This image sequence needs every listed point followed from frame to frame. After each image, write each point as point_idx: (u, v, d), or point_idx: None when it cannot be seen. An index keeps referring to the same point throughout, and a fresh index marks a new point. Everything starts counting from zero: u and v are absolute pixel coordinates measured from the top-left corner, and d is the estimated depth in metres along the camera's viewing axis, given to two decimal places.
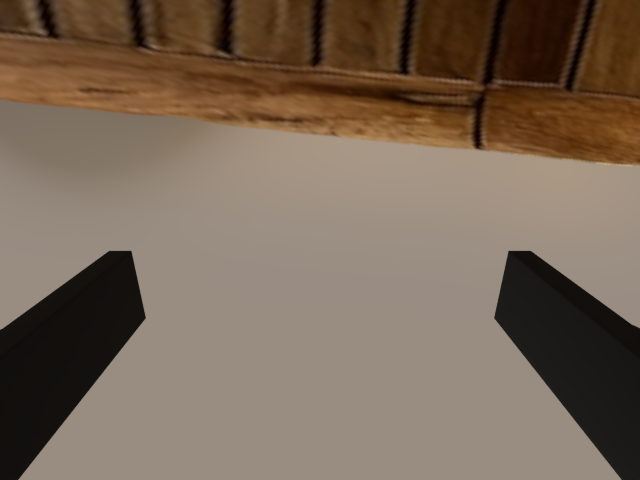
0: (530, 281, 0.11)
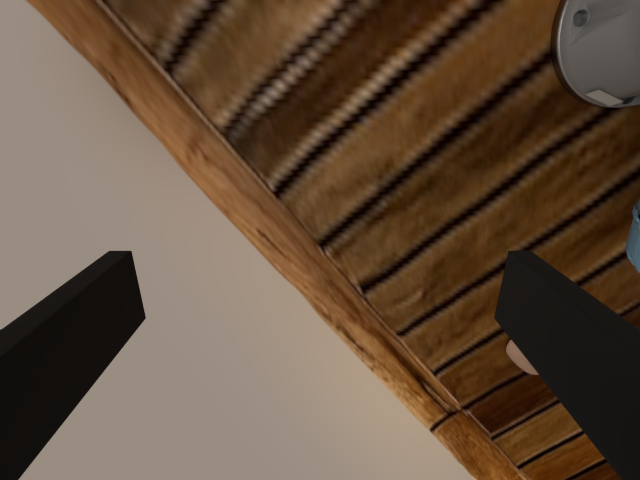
0: (530, 281, 0.11)
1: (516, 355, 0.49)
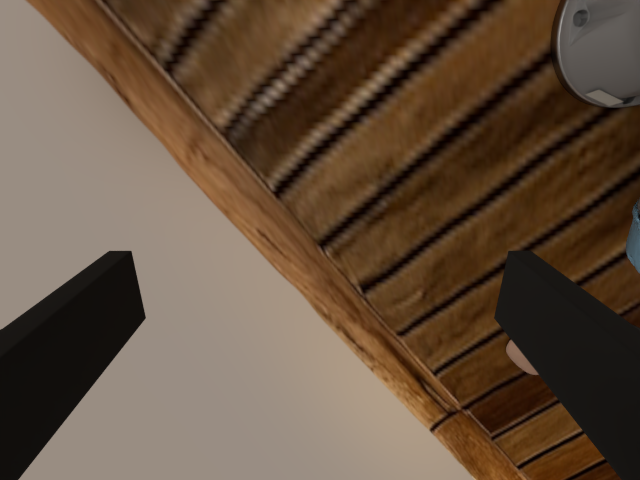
0: (530, 281, 0.11)
1: (516, 355, 0.49)
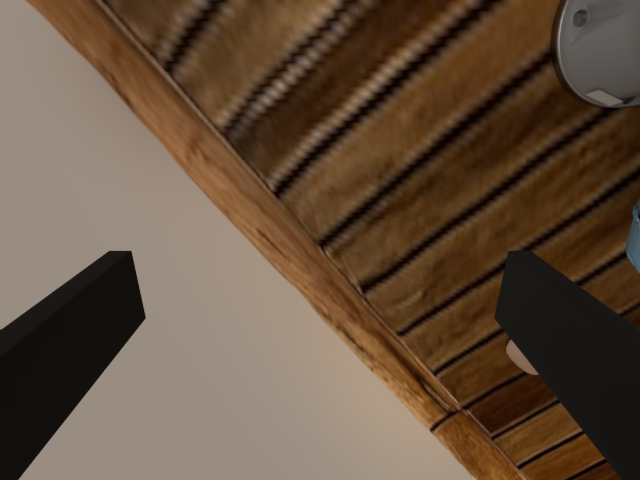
0: (530, 281, 0.11)
1: (516, 355, 0.49)
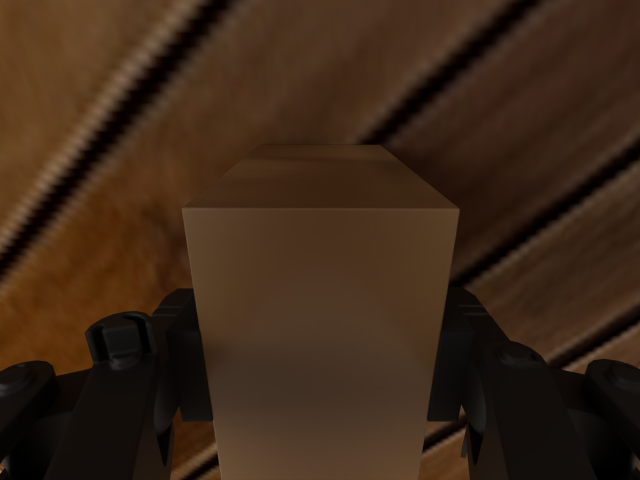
0: None
1: None
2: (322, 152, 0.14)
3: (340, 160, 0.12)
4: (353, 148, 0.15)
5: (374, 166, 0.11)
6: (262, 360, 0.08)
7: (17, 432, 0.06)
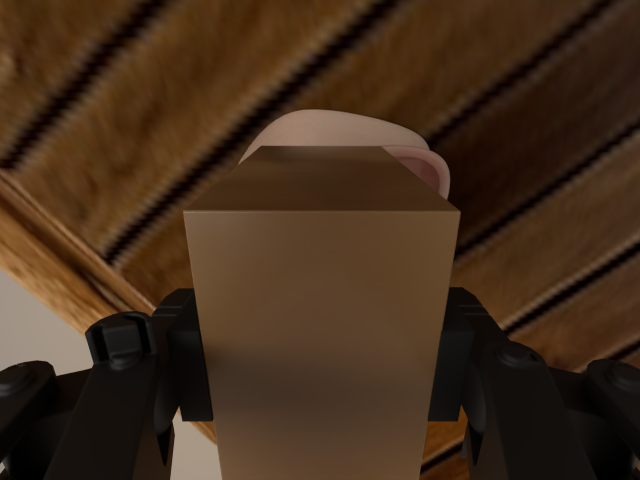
0: None
1: None
2: (323, 153, 0.14)
3: (341, 161, 0.12)
4: (354, 149, 0.15)
5: (375, 168, 0.11)
6: (263, 362, 0.08)
7: (17, 432, 0.06)
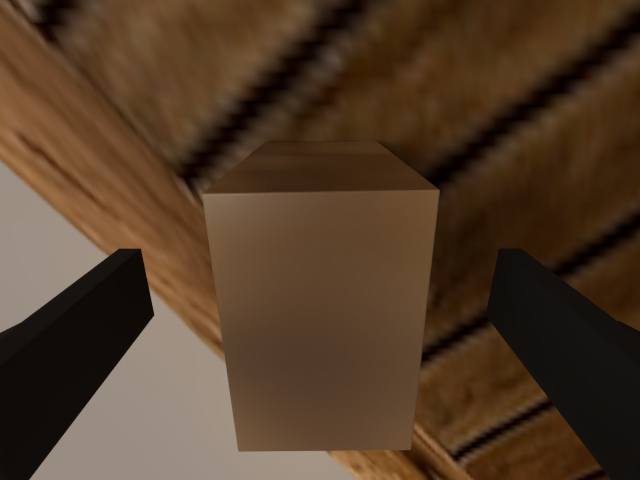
0: (519, 278, 0.11)
1: None
2: (322, 148, 0.15)
3: (338, 154, 0.13)
4: (351, 144, 0.16)
5: (369, 158, 0.12)
6: (272, 328, 0.09)
7: None
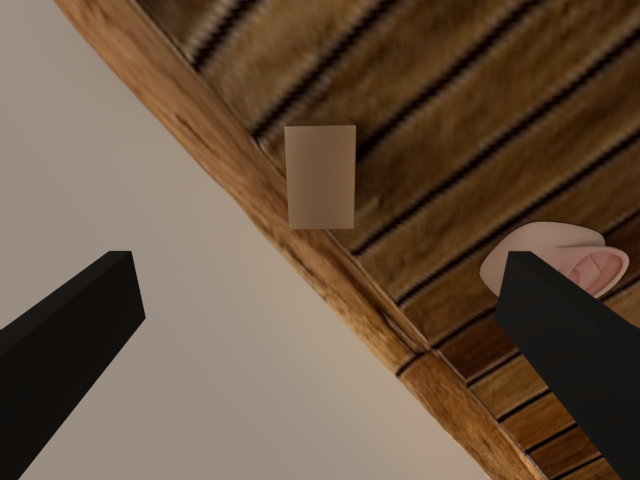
0: (530, 281, 0.11)
1: (491, 278, 0.42)
2: None
3: None
4: None
5: (339, 121, 0.31)
6: (304, 174, 0.28)
7: None
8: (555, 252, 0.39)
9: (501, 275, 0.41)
